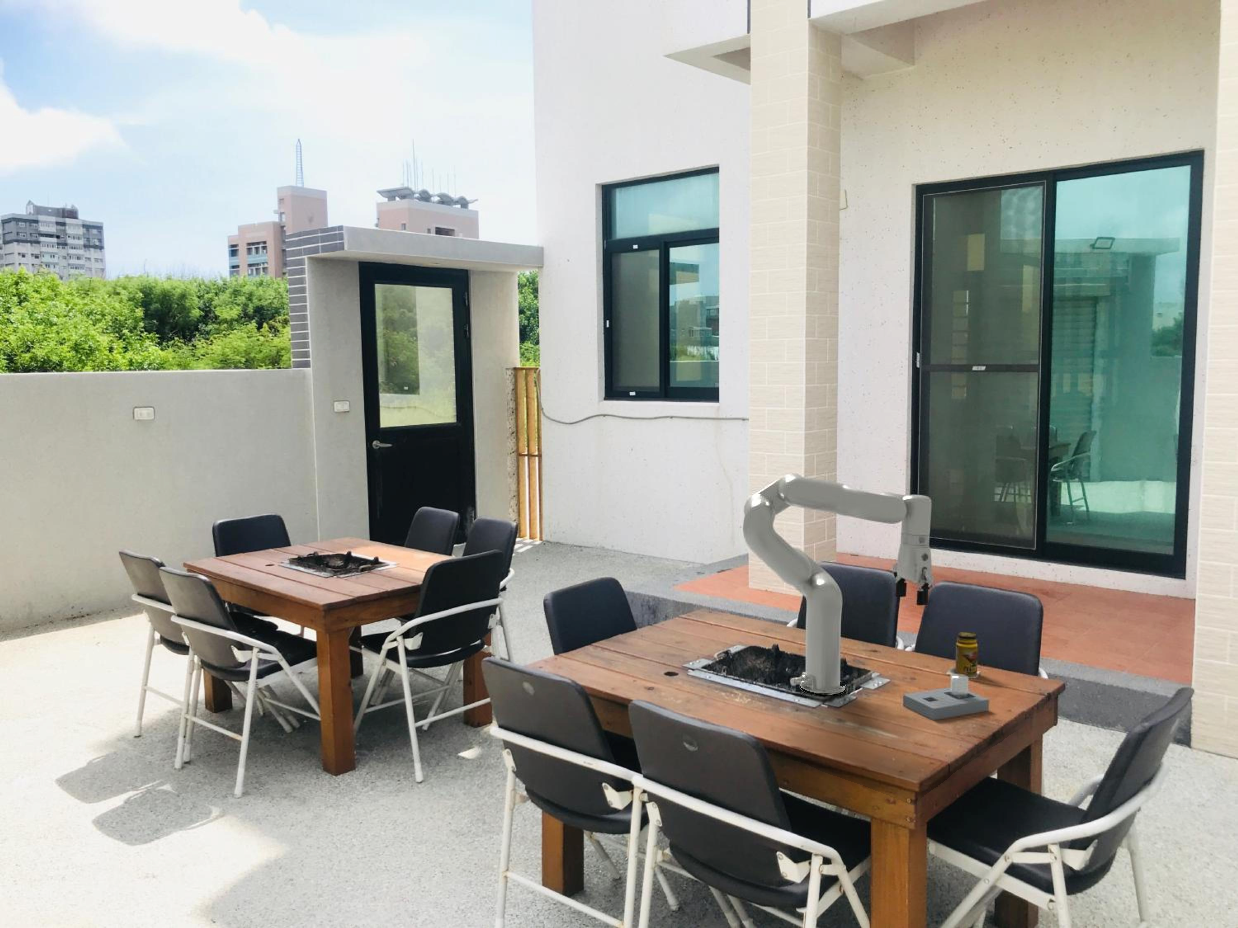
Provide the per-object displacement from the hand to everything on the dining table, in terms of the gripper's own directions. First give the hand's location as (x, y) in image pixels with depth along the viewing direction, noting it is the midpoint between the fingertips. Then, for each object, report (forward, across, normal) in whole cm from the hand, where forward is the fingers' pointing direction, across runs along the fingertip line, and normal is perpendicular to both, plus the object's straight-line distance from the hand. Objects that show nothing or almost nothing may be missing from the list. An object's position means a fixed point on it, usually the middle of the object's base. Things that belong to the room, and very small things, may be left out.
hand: (911, 600), depth 268 cm
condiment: (+25, +7, -25) cm, 36 cm away
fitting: (+25, -16, -6) cm, 30 cm away
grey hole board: (+25, -16, -1) cm, 30 cm away
